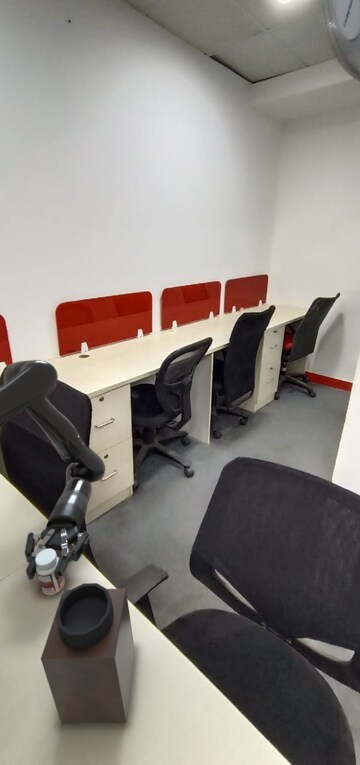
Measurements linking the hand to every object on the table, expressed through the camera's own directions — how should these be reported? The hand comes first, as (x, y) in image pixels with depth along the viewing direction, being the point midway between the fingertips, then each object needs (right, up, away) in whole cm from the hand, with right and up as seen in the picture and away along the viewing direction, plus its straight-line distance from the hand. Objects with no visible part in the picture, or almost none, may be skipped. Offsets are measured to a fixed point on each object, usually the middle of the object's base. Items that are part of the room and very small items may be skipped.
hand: (43, 576), depth 71 cm
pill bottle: (0, -5, +5) cm, 7 cm away
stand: (+14, -11, -12) cm, 22 cm away
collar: (+13, +4, -18) cm, 23 cm away
